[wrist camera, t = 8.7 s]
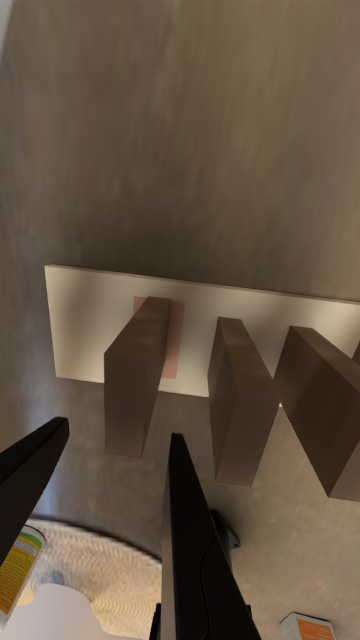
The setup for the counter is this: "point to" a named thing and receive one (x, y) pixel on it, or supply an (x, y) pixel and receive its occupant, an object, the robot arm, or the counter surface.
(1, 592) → the supplement bottle
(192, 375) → the domino board
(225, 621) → the robot arm
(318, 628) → the skincare box
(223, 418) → the domino
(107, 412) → the domino
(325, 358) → the domino
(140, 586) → the counter surface
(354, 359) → the domino
